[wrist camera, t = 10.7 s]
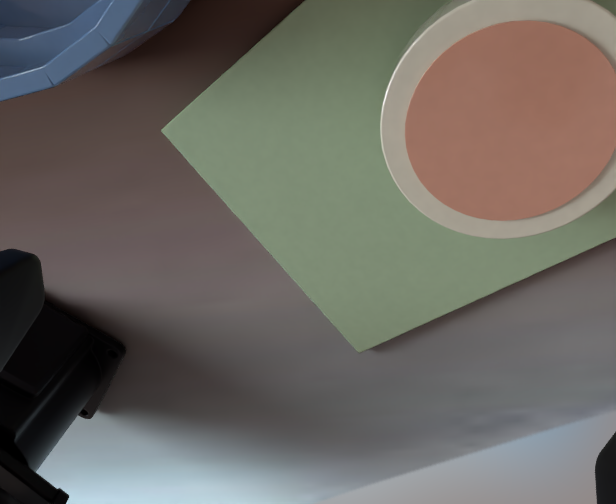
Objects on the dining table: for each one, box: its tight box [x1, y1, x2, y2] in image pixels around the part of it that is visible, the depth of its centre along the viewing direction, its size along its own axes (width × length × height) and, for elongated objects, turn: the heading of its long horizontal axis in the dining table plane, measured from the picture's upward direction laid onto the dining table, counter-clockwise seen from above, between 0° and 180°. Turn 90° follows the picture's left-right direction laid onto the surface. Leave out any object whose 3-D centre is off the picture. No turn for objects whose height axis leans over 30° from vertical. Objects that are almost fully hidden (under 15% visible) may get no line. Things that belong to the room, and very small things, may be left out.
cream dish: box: [380, 0, 616, 239], centre depth 15 cm, size 7×7×3 cm
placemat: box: [161, 0, 616, 353], centre depth 17 cm, size 20×12×1 cm, turn 129°
